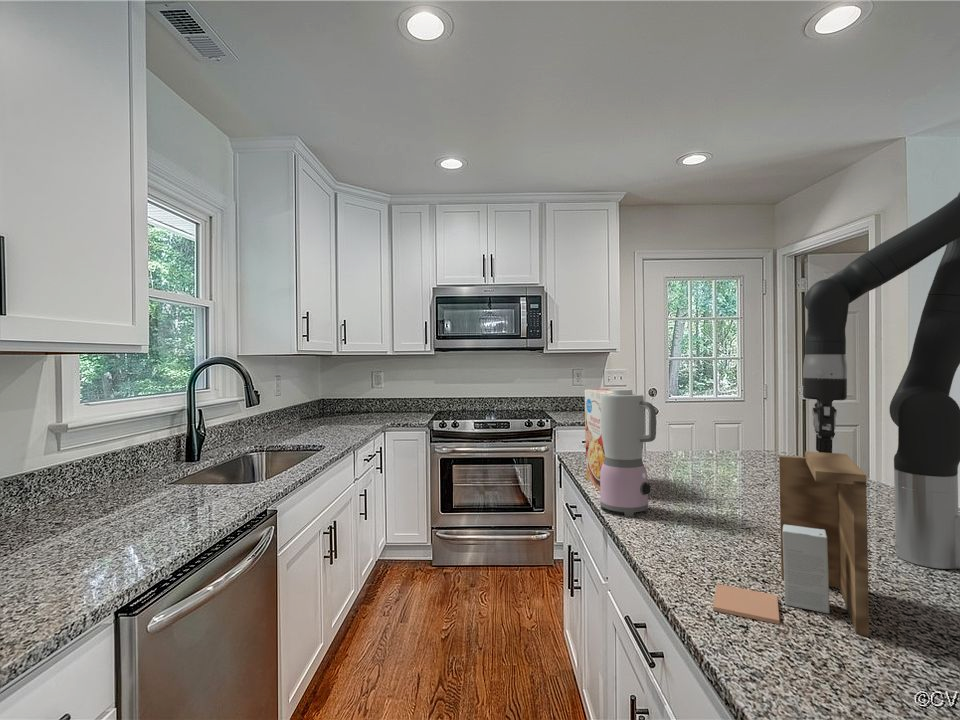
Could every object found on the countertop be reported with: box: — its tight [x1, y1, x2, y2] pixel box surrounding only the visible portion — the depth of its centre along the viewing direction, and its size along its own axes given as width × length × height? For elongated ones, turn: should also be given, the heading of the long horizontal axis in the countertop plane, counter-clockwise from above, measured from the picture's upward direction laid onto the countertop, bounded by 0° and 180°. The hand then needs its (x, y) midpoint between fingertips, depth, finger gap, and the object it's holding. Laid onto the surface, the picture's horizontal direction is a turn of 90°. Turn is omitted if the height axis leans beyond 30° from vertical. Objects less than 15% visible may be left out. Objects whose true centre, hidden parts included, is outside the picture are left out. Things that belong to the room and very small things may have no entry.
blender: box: [599, 388, 657, 518], centre depth 130 cm, size 16×12×32 cm
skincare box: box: [782, 524, 830, 615], centre depth 80 cm, size 6×4×12 cm
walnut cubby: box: [778, 451, 870, 637], centre depth 80 cm, size 10×18×23 cm, turn 151°
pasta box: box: [584, 388, 613, 492], centre depth 156 cm, size 23×8×30 cm, turn 2°
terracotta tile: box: [712, 583, 780, 625], centre depth 80 cm, size 9×9×1 cm
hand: (823, 454), depth 103 cm, fingers open, 8 cm apart
